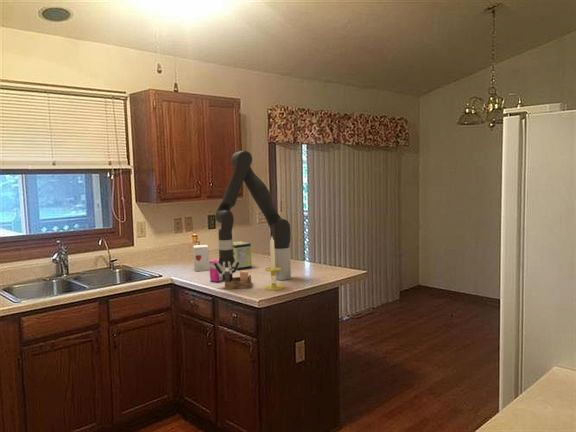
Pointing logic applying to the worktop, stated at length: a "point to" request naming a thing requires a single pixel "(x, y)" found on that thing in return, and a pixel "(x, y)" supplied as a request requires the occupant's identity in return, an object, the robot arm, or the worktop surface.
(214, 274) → the supplement box
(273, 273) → the candle
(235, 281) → the shelf
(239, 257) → the protein box
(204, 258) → the supplement box
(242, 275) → the lopsided dumbbell
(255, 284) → the worktop surface
